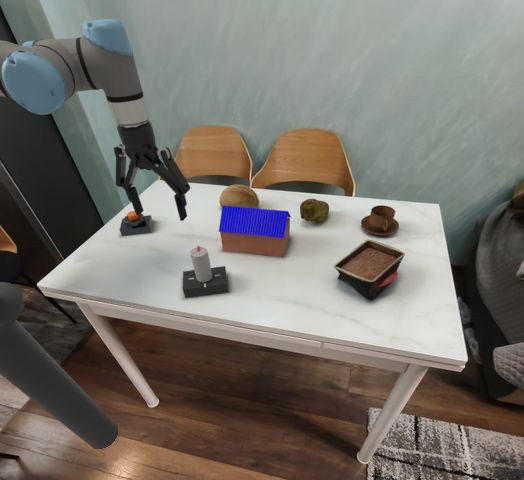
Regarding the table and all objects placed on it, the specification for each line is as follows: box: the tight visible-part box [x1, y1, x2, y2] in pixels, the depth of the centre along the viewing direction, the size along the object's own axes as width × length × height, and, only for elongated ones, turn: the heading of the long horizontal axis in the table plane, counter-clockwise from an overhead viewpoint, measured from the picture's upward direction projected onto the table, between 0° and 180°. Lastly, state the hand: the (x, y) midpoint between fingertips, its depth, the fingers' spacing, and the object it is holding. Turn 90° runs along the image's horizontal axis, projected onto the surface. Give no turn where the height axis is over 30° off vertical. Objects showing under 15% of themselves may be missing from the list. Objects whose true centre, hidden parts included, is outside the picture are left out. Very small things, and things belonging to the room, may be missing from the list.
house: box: [218, 206, 292, 258], centre depth 94 cm, size 12×20×12 cm, turn 76°
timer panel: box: [182, 265, 230, 299], centre depth 85 cm, size 12×9×3 cm
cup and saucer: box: [360, 204, 400, 236], centre depth 99 cm, size 12×12×6 cm
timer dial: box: [189, 245, 212, 282], centre depth 81 cm, size 4×4×8 cm
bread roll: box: [218, 183, 260, 209], centre depth 111 cm, size 10×15×8 cm, turn 81°
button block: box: [119, 212, 154, 237], centre depth 106 cm, size 10×8×4 cm
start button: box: [126, 210, 139, 221], centre depth 104 cm, size 4×4×2 cm
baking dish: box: [333, 239, 406, 302], centre depth 82 cm, size 14×18×10 cm
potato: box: [299, 198, 330, 223], centre depth 103 cm, size 8×13×8 cm, turn 118°
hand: (161, 215), depth 84 cm, fingers open, 13 cm apart
